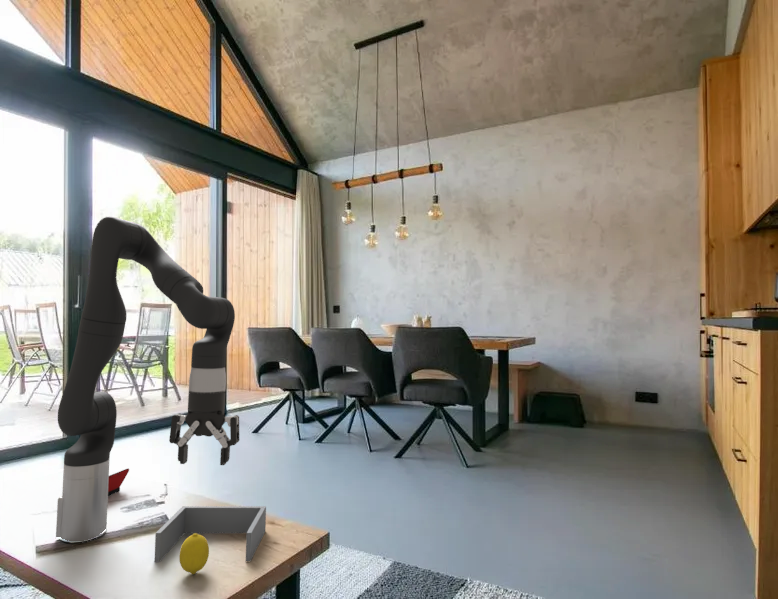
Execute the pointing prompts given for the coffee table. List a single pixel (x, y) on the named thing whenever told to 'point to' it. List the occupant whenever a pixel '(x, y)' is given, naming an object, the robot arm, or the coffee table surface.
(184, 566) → the lemon
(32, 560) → the coffee table surface
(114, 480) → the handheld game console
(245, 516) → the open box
